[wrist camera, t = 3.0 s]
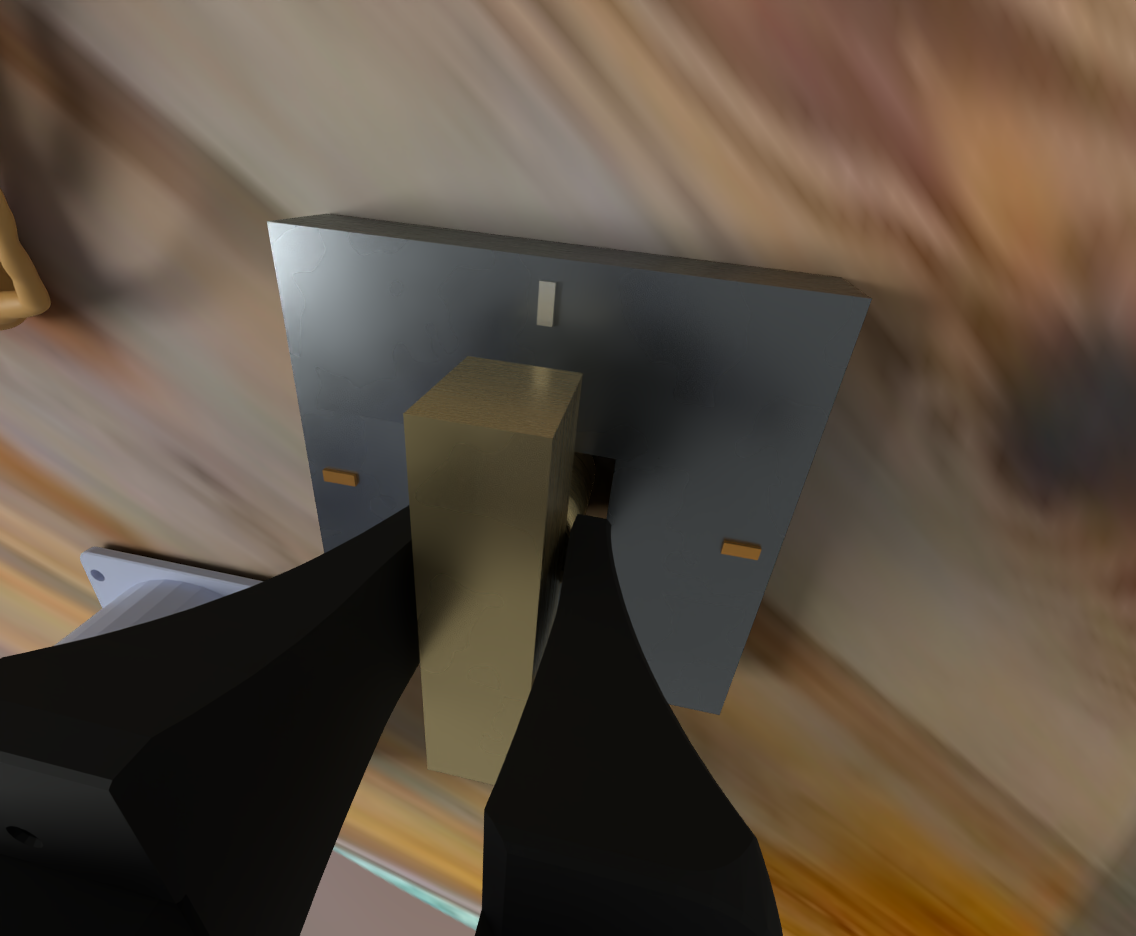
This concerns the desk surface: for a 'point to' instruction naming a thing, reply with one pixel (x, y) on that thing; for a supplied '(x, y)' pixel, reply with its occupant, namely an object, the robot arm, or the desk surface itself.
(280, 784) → the robot arm
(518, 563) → the t key
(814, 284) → the key plate
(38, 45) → the desk surface
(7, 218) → the figurine
